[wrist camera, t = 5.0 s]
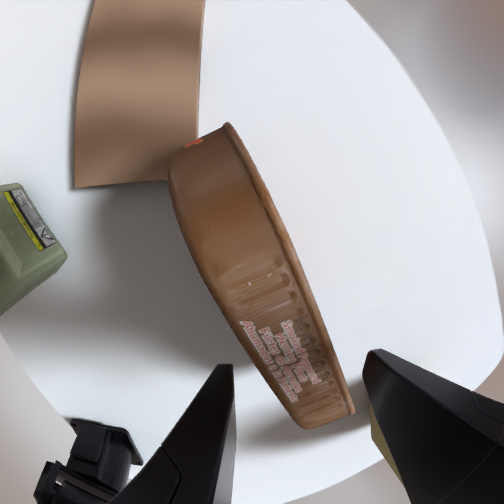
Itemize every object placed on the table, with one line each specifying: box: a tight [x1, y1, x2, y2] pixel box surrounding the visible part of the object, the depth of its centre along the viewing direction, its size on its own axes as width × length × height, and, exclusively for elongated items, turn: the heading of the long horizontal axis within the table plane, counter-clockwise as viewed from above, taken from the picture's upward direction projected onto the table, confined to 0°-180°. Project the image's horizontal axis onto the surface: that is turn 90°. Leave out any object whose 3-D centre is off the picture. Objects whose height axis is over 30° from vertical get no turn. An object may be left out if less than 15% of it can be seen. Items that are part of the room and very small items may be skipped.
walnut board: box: [74, 0, 205, 188], centre depth 12 cm, size 16×7×1 cm, turn 0°
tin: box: [168, 122, 356, 429], centre depth 12 cm, size 15×3×8 cm, turn 25°
